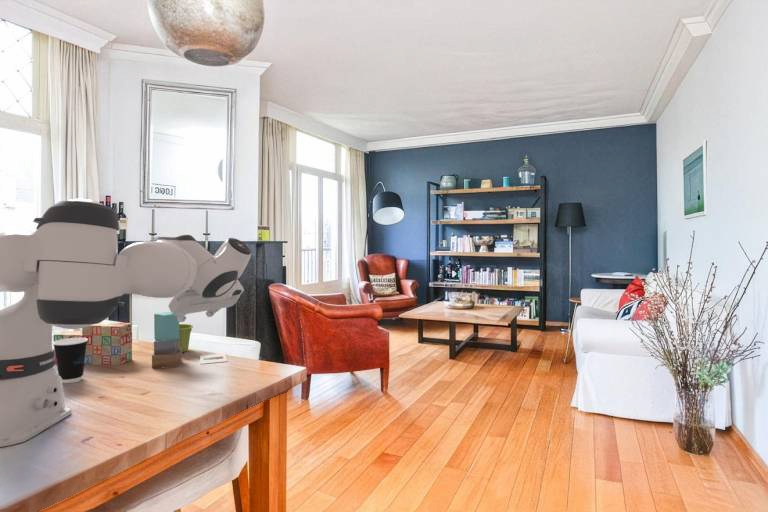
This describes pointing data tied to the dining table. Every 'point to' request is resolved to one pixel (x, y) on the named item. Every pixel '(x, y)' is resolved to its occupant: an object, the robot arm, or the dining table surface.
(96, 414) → the dining table surface
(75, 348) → the dixie cup
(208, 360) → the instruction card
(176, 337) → the teal brick
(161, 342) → the grey-brown block
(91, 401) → the dining table surface
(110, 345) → the stack of blocks
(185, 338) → the plant pot
